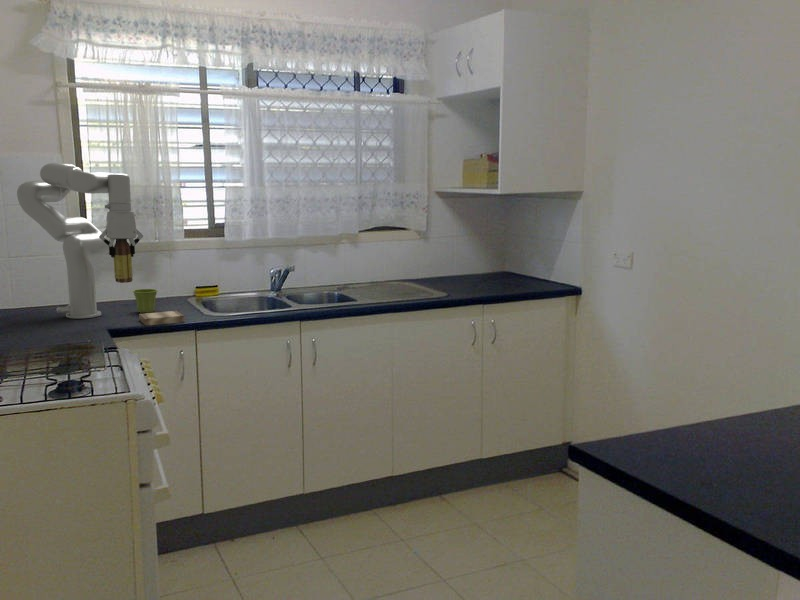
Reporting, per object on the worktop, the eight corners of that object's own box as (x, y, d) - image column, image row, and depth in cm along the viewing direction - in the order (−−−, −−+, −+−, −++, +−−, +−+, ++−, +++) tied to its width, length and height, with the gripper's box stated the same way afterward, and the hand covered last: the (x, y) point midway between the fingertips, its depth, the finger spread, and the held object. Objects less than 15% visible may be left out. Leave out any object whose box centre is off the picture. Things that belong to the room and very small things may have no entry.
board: (145, 325, 271) (145, 318, 271) (139, 320, 281) (139, 313, 280) (184, 322, 278) (184, 315, 278) (177, 317, 288) (176, 310, 287)
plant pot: (147, 308, 305) (146, 287, 303) (163, 311, 300) (162, 289, 298) (128, 312, 297) (127, 290, 295) (145, 314, 292) (143, 293, 290)
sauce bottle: (126, 280, 282) (125, 227, 278) (136, 282, 278) (134, 228, 274) (110, 281, 276) (109, 228, 273) (119, 283, 273) (118, 229, 269)
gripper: (96, 208, 265) (99, 259, 268) (146, 208, 273) (148, 256, 277) (93, 207, 271) (95, 256, 274) (142, 207, 280) (144, 254, 283)
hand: (122, 256), depth 275 cm, fingers closed on sauce bottle, 6 cm apart
